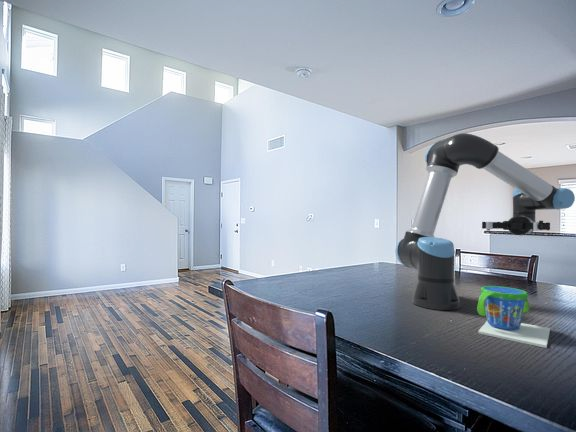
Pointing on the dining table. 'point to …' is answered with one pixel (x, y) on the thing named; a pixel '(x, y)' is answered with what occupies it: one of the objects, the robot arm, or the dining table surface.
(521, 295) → the snack cup
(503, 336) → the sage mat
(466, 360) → the dining table surface
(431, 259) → the robot arm
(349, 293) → the dining table surface
